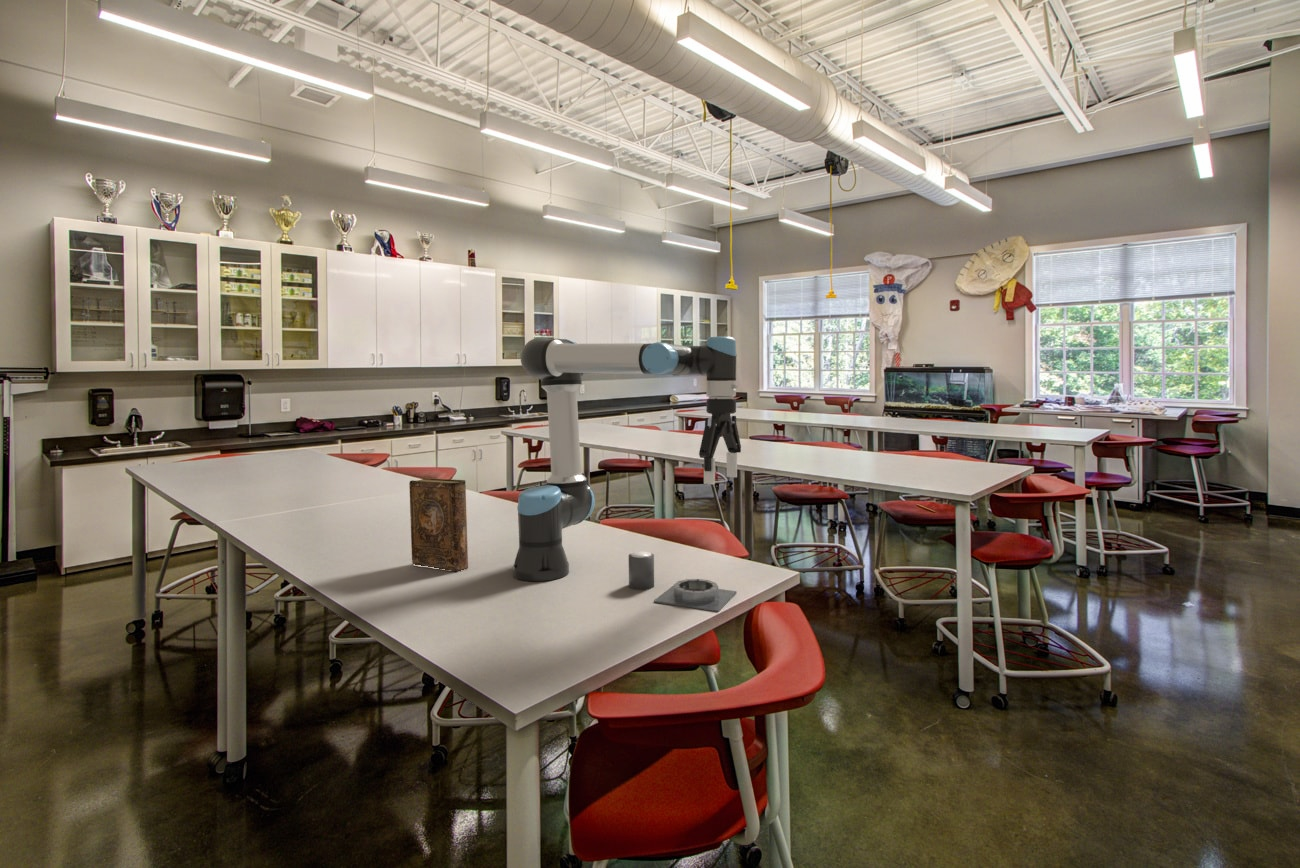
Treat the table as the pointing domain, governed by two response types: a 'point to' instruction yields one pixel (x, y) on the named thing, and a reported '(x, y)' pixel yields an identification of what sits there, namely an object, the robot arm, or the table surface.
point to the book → (439, 523)
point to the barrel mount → (696, 595)
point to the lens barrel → (641, 570)
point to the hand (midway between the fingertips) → (720, 480)
